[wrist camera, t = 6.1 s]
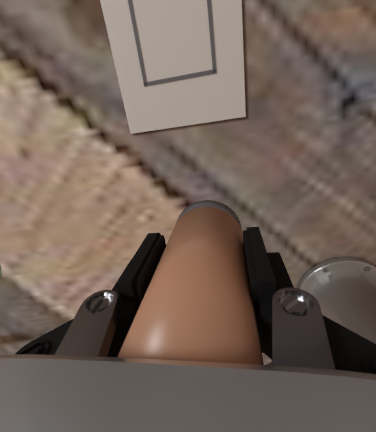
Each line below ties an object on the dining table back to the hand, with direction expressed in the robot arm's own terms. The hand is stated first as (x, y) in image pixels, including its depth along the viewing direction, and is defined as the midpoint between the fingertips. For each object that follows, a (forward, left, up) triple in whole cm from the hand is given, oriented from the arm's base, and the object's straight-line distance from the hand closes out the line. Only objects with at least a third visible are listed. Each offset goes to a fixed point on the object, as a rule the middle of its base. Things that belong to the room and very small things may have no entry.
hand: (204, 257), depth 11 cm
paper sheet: (+3, -15, -21) cm, 27 cm away
